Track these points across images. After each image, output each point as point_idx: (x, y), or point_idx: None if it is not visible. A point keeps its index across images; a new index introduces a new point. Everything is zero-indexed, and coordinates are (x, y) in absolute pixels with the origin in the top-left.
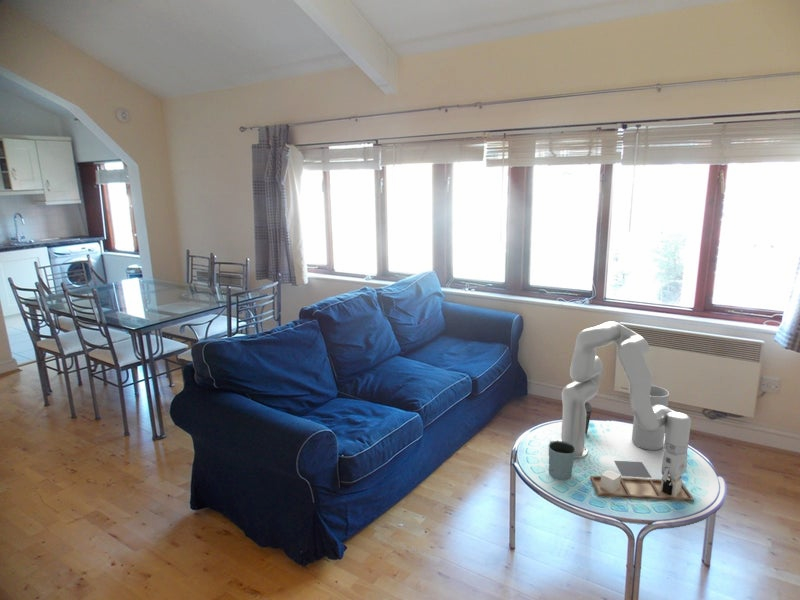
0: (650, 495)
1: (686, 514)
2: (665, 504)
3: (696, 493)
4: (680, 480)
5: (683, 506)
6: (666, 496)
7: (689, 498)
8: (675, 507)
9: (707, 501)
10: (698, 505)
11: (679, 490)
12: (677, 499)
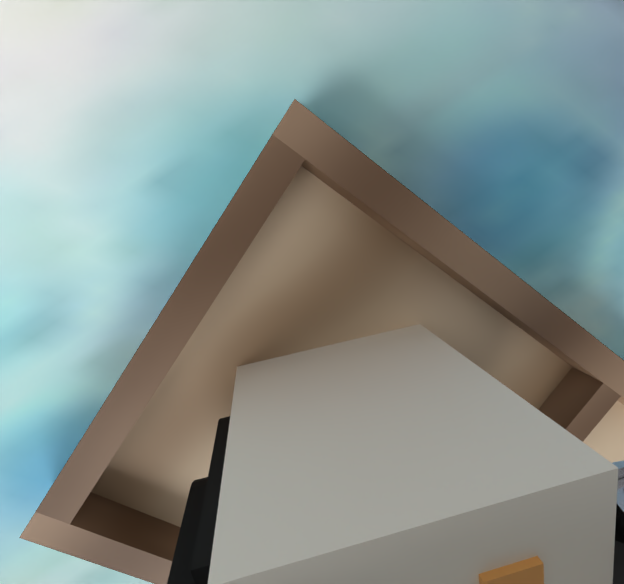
0: (604, 449)
1: (616, 7)
2: (607, 280)
3: (23, 247)
4: (325, 533)
5: (484, 143)
6: (566, 352)
7: (343, 159)
8: (578, 184)
9: (37, 9)
10: (283, 33)
11: (283, 373)
12: (481, 252)
